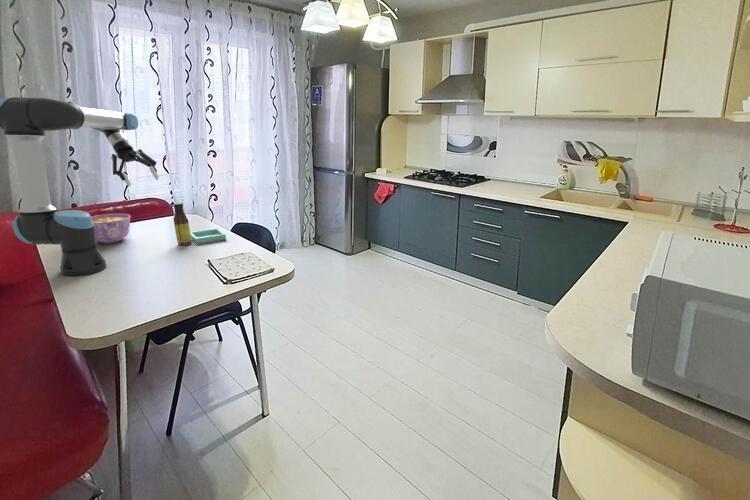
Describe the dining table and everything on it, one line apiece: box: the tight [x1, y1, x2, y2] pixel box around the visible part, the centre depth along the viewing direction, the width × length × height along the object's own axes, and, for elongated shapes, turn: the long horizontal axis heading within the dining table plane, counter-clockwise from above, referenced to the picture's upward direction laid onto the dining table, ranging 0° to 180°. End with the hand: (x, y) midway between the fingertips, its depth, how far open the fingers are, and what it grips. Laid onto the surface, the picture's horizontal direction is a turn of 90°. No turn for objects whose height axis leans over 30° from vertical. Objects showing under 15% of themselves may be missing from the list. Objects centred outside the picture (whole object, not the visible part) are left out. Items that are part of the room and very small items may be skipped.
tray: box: [190, 228, 227, 245], centre depth 211 cm, size 14×14×3 cm
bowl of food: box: [91, 213, 131, 245], centre depth 205 cm, size 20×20×12 cm
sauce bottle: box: [173, 202, 193, 247], centre depth 200 cm, size 6×6×20 cm
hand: (144, 181), depth 203 cm, fingers open, 13 cm apart
